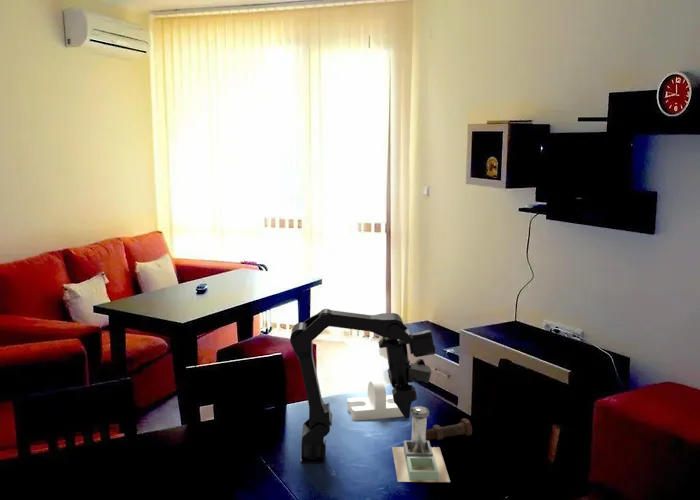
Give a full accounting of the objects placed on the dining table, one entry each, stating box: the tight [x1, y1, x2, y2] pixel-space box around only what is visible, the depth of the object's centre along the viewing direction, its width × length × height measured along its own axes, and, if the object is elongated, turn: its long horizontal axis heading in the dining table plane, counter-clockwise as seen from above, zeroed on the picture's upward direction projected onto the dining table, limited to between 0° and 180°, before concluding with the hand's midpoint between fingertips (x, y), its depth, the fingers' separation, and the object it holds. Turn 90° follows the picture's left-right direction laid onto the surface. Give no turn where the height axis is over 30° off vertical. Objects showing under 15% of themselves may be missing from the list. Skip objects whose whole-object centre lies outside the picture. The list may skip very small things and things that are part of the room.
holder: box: [402, 439, 433, 462], centre depth 180 cm, size 7×7×2 cm
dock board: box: [391, 446, 451, 483], centre depth 176 cm, size 14×18×1 cm
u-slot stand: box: [346, 380, 404, 421], centre depth 207 cm, size 10×18×11 cm, turn 103°
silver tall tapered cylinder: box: [410, 405, 430, 453], centre depth 179 cm, size 5×5×14 cm
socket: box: [406, 457, 438, 480], centre depth 171 cm, size 8×8×2 cm
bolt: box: [426, 418, 473, 441], centre depth 192 cm, size 6×5×15 cm
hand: (405, 410), depth 177 cm, fingers open, 9 cm apart
